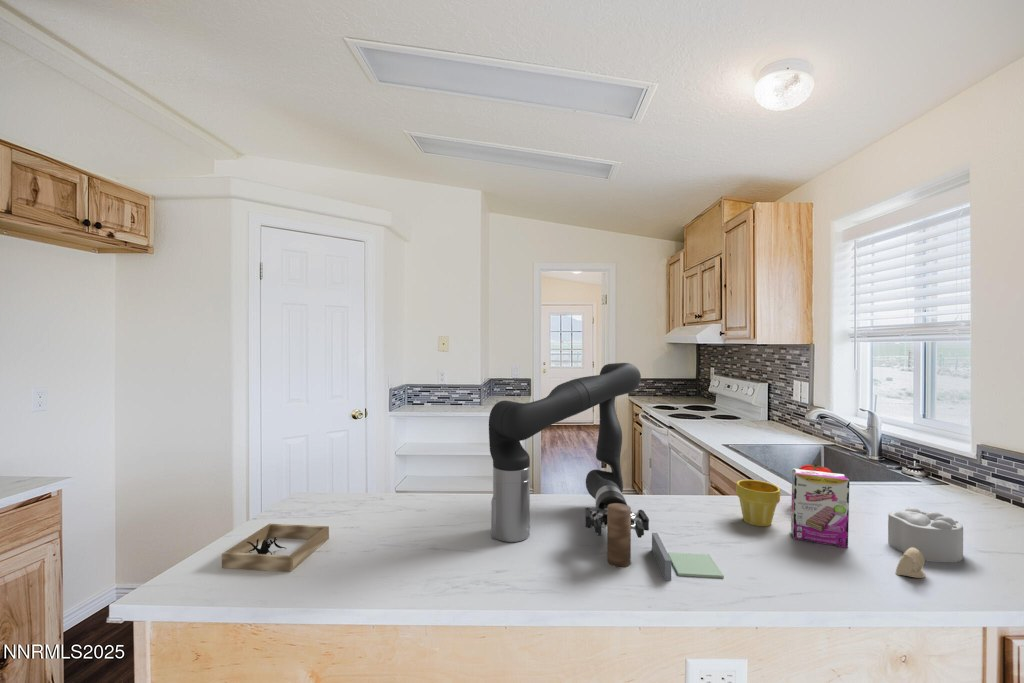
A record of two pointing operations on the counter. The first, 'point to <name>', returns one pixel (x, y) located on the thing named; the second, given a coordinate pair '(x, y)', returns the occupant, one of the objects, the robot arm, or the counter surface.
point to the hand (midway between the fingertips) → (619, 532)
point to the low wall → (661, 556)
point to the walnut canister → (619, 535)
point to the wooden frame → (244, 560)
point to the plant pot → (758, 501)
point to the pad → (695, 565)
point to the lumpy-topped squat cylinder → (926, 534)
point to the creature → (264, 546)
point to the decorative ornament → (911, 564)
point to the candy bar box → (820, 507)
